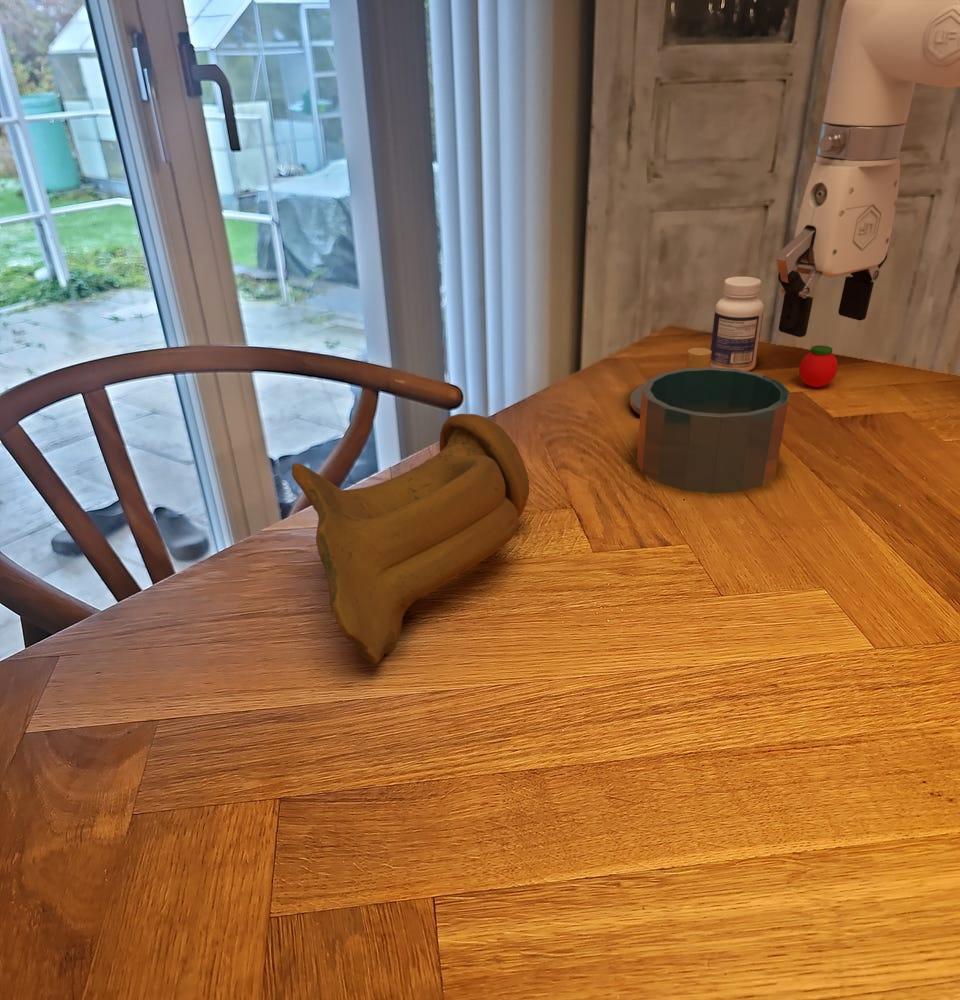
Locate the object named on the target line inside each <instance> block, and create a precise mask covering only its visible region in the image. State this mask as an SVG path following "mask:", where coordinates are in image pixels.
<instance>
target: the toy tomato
mask: <svg viewBox="0 0 960 1000" xmlns="http://www.w3.org/2000/svg"><path fill="white" fill-rule="evenodd" d="M833 350H834V349H833V347H831V346H829V345H824V344H823V345H821V344H819V345H818V344H817V345H812V346H811V348H810V351H809V352H808V353H807V354H805V355H804V356H803V358H802V359H801V361H800V363H799V366H798V374H799V377H800V379H801V381H802V382H803V383H804V384H805V385H807V386H809V387H812V388H821V387H824V386H826V385H829V384H830V383H831V382H832V381H833V380H834V379H835V378H836V375H837V373H838V367H839V365H838V360H837V357H836V356H835V355H834V354H833Z"/></svg>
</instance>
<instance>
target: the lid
mask: <svg viewBox="0 0 960 1000" xmlns="http://www.w3.org/2000/svg"><path fill="white" fill-rule="evenodd" d="M711 354H712V351H711V349H709V348H706V347H692V348H690V349H688V350H687V356H686V365H685V368H702V367H711V366H710V362H711ZM644 385H645V384H643V385H640V386H638V387H636V388H635V389H634V390H633V391H632V392H631V394H630V401H629V402H630V403H629V404H630V407H631V408H632V410H633V411H634V412H636V413H637V415H640V411H641V398H642V389H643V387H644Z"/></svg>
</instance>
